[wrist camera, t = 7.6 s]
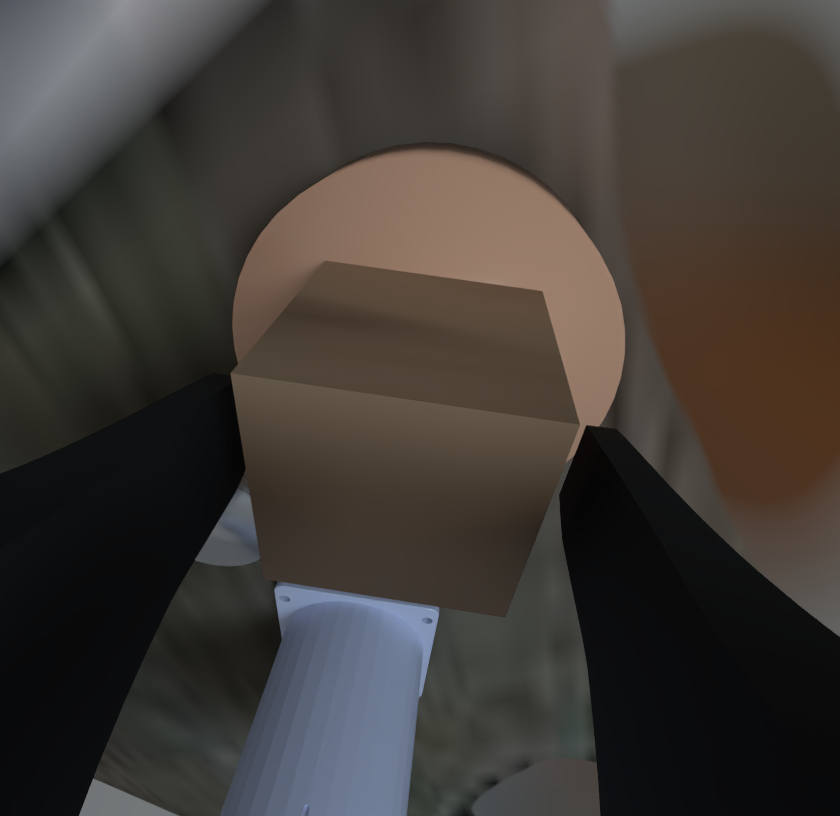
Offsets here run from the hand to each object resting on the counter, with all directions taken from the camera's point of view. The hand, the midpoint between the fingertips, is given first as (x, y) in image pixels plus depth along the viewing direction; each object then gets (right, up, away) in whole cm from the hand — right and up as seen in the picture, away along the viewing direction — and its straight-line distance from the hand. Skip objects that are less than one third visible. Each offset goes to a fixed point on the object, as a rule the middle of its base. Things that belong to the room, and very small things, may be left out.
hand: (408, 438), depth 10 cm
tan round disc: (+1, +3, +4) cm, 5 cm away
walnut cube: (0, +2, +2) cm, 3 cm away
